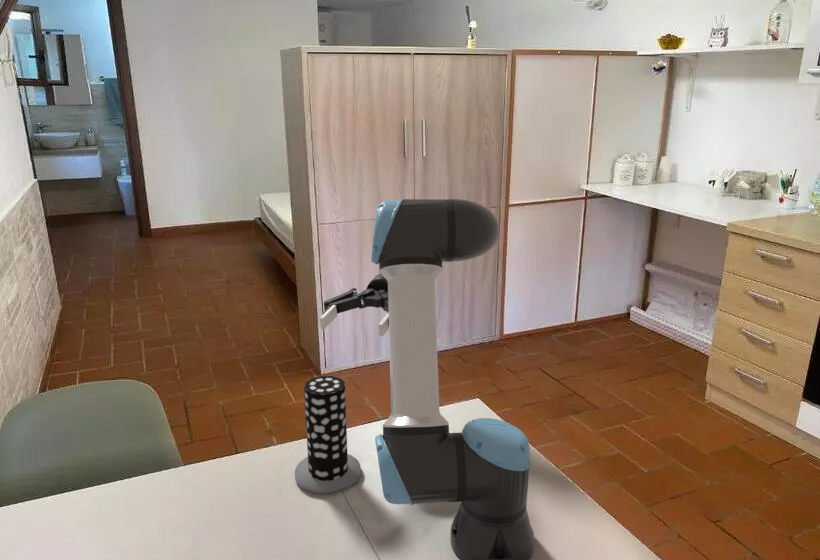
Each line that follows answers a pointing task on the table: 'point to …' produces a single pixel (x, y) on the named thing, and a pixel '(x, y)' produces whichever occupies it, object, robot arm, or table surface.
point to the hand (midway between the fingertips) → (350, 327)
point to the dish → (327, 486)
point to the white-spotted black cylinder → (326, 427)
